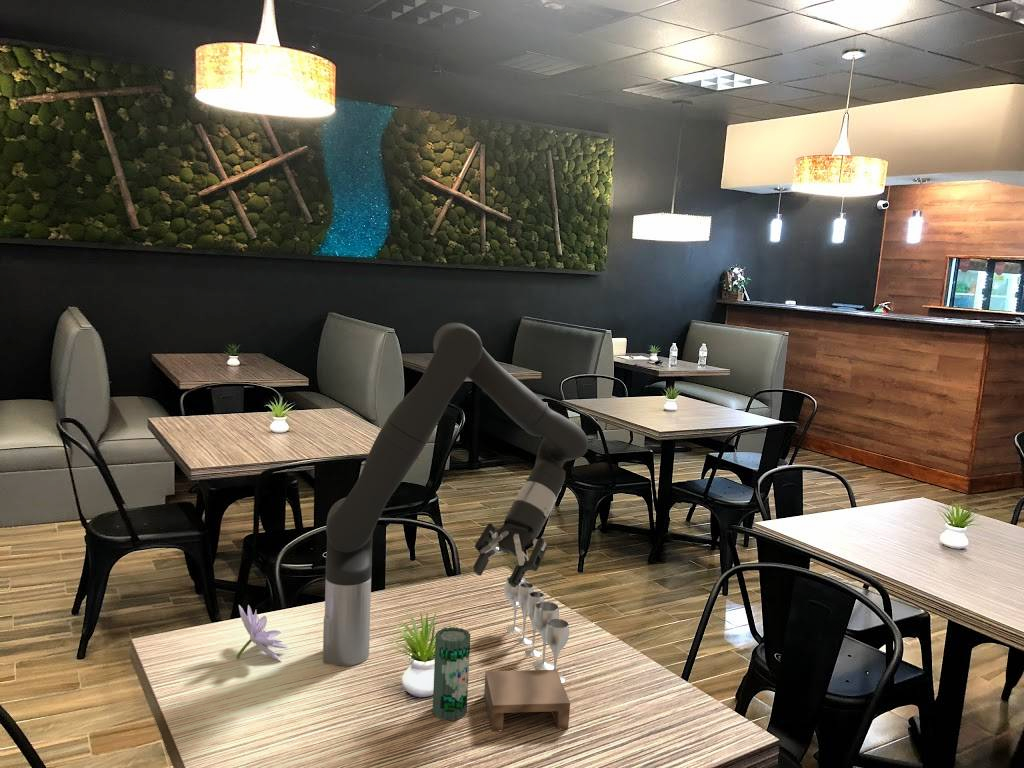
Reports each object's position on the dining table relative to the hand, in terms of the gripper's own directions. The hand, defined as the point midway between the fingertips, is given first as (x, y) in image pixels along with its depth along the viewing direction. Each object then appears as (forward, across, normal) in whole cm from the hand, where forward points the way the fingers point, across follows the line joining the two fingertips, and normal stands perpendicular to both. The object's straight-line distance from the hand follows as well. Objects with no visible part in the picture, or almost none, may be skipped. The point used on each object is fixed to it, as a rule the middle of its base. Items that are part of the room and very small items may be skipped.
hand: (493, 579), depth 155 cm
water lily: (+31, -43, 0) cm, 53 cm away
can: (+24, 0, +7) cm, 25 cm away
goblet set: (+4, -2, +28) cm, 28 cm away
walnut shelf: (+18, +11, +14) cm, 25 cm away
